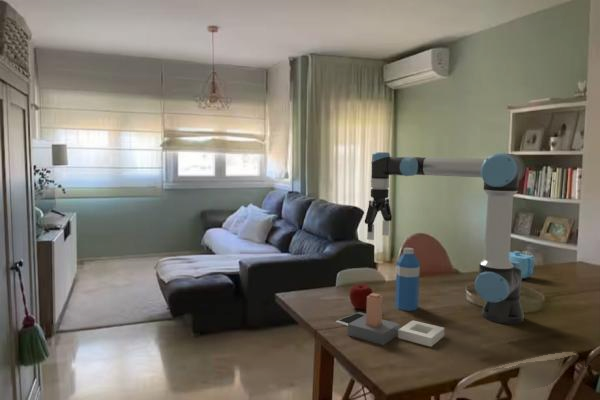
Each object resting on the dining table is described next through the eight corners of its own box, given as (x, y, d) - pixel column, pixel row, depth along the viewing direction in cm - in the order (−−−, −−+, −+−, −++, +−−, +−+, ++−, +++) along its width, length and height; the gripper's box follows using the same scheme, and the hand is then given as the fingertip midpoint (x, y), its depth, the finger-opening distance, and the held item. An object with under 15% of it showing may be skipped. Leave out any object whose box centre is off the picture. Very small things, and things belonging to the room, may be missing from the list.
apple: (344, 308, 194) (345, 284, 193) (358, 303, 201) (358, 280, 200) (363, 314, 188) (364, 289, 187) (376, 308, 195) (377, 284, 194)
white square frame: (444, 336, 166) (444, 327, 166) (430, 346, 157) (431, 338, 156) (412, 328, 173) (412, 320, 173) (397, 337, 164) (398, 329, 164)
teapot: (538, 278, 246) (539, 253, 244) (529, 282, 238) (530, 256, 237) (497, 270, 262) (498, 246, 261) (487, 274, 255) (488, 249, 253)
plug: (381, 334, 167) (382, 294, 165) (375, 337, 164) (377, 297, 162) (371, 331, 169) (372, 292, 168) (365, 335, 166) (366, 294, 165)
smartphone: (374, 318, 185) (374, 315, 184) (350, 328, 173) (350, 325, 173) (359, 313, 189) (359, 311, 189) (335, 323, 178) (335, 321, 178)
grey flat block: (399, 334, 167) (399, 323, 166) (383, 345, 157) (383, 333, 157) (364, 325, 175) (365, 315, 175) (347, 334, 166) (348, 324, 165)
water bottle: (418, 311, 192) (420, 251, 189) (395, 309, 194) (397, 250, 191) (417, 304, 201) (419, 247, 198) (395, 302, 203) (397, 245, 200)
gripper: (385, 186, 213) (383, 232, 215) (357, 189, 193) (355, 240, 195) (400, 187, 208) (398, 234, 210) (373, 190, 189) (371, 242, 191)
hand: (378, 237), depth 203 cm, fingers open, 13 cm apart
